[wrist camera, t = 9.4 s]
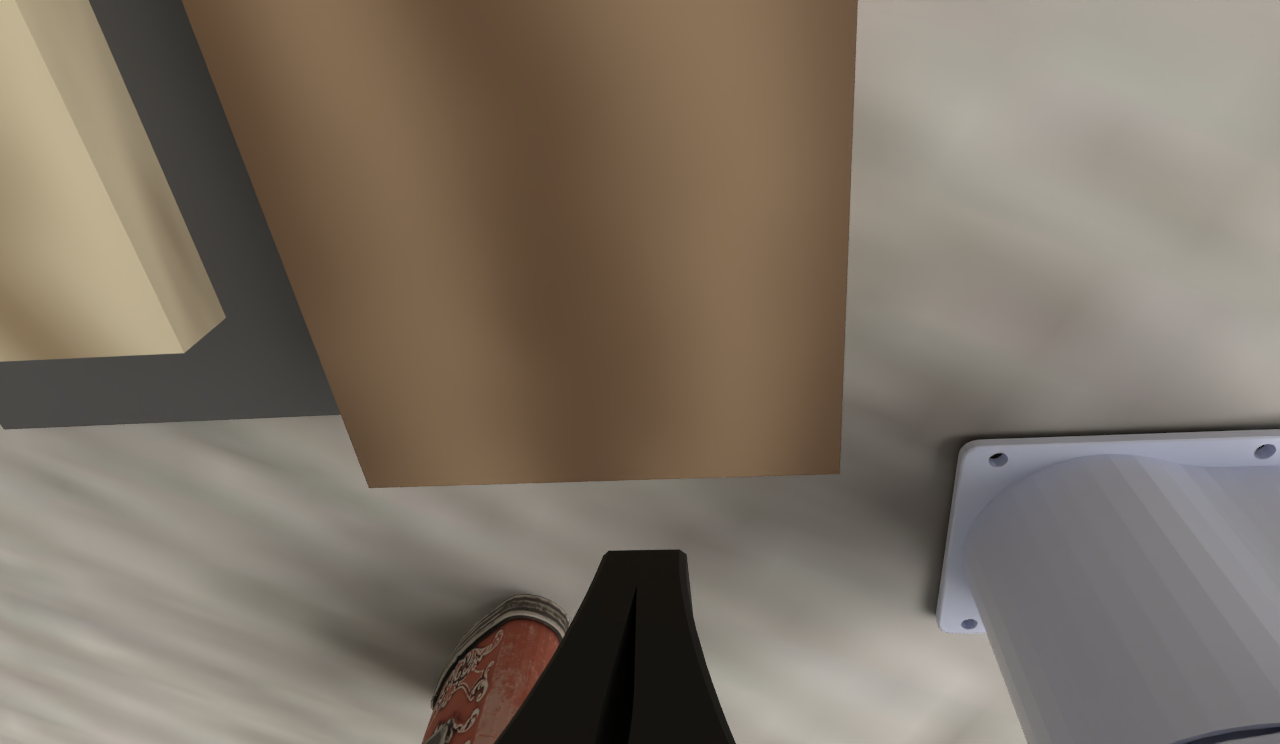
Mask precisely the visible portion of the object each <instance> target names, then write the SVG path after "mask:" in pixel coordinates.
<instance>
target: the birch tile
mask: <svg viewBox="0 0 1280 744" xmlns="http://www.w3.org/2000/svg"><path fill="white" fill-rule="evenodd" d="M225 318H226V316H225V314H224V311H223V309H222V307H221V305H220V302H219V300H218V298H217V295H216V293H215V291H214V288H213V286H212V284H211V281H210V279H209V277H208V275H207V272H206V270H205V268H204V265H203V263H202V261H201V258H200V256H199V254H198V251H197V249H196V247H195V245H194V242H193V240H192V238H191V235H190V233H189V231H188V228H187V226H186V224H185V221H184V219H183V217H182V215H181V212H180V210H179V208H178V205H177V203H176V201H175V198H174V196H173V194H172V191H171V189H170V187H169V185H168V182H167V180H166V178H165V175H164V173H163V171H162V168H161V166H160V164H159V162H158V159H157V157H156V155H155V152H154V150H153V148H152V145H151V143H150V141H149V138H148V136H147V134H146V132H145V129H144V127H143V125H142V122H141V120H140V118H139V115H138V113H137V111H136V108H135V106H134V104H133V102H132V99H131V97H130V95H129V92H128V90H127V88H126V85H125V83H124V81H123V78H122V76H121V74H120V72H119V69H118V67H117V65H116V62H115V60H114V58H113V55H112V53H111V51H110V48H109V46H108V44H107V42H106V39H105V37H104V35H103V32H102V30H101V28H100V25H99V23H98V21H97V19H96V16H95V14H94V12H93V9H92V7H91V5H90V2H89V0H0V362H3V361H25V360H47V359H68V358H90V357H112V356H133V355H155V354H176V353H185V352H186V351H187V350H188V349H190V348H191V347H192V346H193V345H194V344H196V343H197V342H198V341H199V340H200V339H202V338H203V337H204V336H205V335H206V334H207V333H209V332H210V331H211V330H212V329H213V328H215V327H216V326H217V325H218V324H219V323H220V322H222V321H223V320H224V319H225Z"/></svg>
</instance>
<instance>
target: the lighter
mask: <svg viewBox="0 0 1280 744" xmlns="http://www.w3.org/2000/svg"><path fill="white" fill-rule="evenodd" d="M568 627H569V620H568V617H567V614H566V613H565V612H564V611H563V610H562V609H561V607H559V606H558V605H556V604H555V603H553V602H552V601H550V600H547V599H545V598H542V597H539V596H534V595H527V594H526V595H516V596H513V597H511V598H509V599H507V600H506V601H504V602H503V603H502V604H500V605H499V606H497V607H496V608H495V609H493V610H492V611H491V612H489V613H488V614H487V615H485V616H484V617H483V618H482V619H481V620H480V621H479V622H478V623H477V624H476V625H475V626H474V627H473V628H472V629H471V630H470V631H469V632H468V633H467V634H466V635H465V636H464V637H463V638H462V639H461V640H460V642H459V643H458V645H457V646H456V648H455V649H454V651H453V652H452V654H451V655H450V657H449V658H448V660H447V662H446V664H445V666H444V669H443V671H442V674H441V676H440V678H439V681H438V683H437V686H436V689H435V692H434V695H433V697H432V700H431V708H432V710H433V713H432V715H431V718H430V721H429V724H428V727H427V730H426V733H425V736H424V738H423V741H422V744H494V742H495V741H496V740H497V738H498V737H499V736H500V734H501V733H502V732H503V730H504V729H505V728H506V726H507V725H508V723H509V722H510V721H511V719H512V718H513V716H514V715H515V713H516V712H517V711H518V709H519V708H520V706H521V705H522V703H523V702H524V700H525V699H526V697H527V696H528V694H529V693H530V691H531V689H532V688H533V686H534V685H535V683H536V682H537V680H538V678H539V677H540V675H541V674H542V672H543V671H544V669H545V667H546V666H547V664H548V663H549V661H550V659H551V658H552V656H553V654H554V653H555V651H556V649H557V647H558V646H559V644H560V642H561V640H562V639H563V637H564V635H565V633H566V631H567V630H568Z"/></svg>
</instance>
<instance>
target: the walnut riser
mask: <svg viewBox="0 0 1280 744" xmlns="http://www.w3.org/2000/svg"><path fill="white" fill-rule="evenodd" d="M182 3H183V5H184V8H185V10H186V13H187V16H188V18H189V21H190V23H191V26H192V29H193V31H194V34H195V36H196V39H197V42H198V44H199V47H200V49H201V52H202V55H203V57H204V60H205V62H206V65H207V68H208V70H209V73H210V75H211V78H212V81H213V83H214V86H215V88H216V91H217V94H218V96H219V99H220V101H221V104H222V107H223V109H224V112H225V114H226V117H227V120H228V122H229V125H230V127H231V130H232V133H233V135H234V138H235V140H236V143H237V146H238V148H239V151H240V153H241V156H242V159H243V161H244V164H245V166H246V169H247V172H248V174H249V177H250V179H251V182H252V185H253V187H254V190H255V192H256V195H257V198H258V200H259V203H260V206H261V208H262V211H263V213H264V216H265V219H266V221H267V224H268V226H269V229H270V232H271V234H272V237H273V239H274V242H275V245H276V247H277V250H278V252H279V255H280V258H281V260H282V263H283V265H284V268H285V271H286V273H287V276H288V278H289V281H290V284H291V286H292V289H293V291H294V294H295V297H296V299H297V302H298V304H299V307H300V310H301V312H302V315H303V317H304V320H305V323H306V325H307V328H308V330H309V333H310V336H311V338H312V341H313V343H314V346H315V349H316V351H317V354H318V356H319V359H320V362H321V364H322V367H323V369H324V372H325V375H326V377H327V380H328V382H329V385H330V388H331V390H332V393H333V395H334V398H335V401H336V403H337V406H338V408H339V411H340V414H341V416H342V419H343V421H344V424H345V427H346V429H347V432H348V434H349V437H350V440H351V442H352V445H353V447H354V450H355V453H356V455H357V458H358V460H359V463H360V466H361V468H362V471H363V473H364V476H365V479H366V481H367V484H368V486H369V488H385V487H418V486H452V485H485V484H518V483H551V482H584V481H618V480H651V479H684V478H717V477H751V476H784V475H817V474H840V451H841V425H842V399H843V372H844V346H845V320H846V294H847V268H848V241H849V215H850V189H851V163H852V136H853V110H854V84H855V58H856V32H857V5H858V0H182Z"/></svg>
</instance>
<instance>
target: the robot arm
mask: <svg viewBox="0 0 1280 744" xmlns="http://www.w3.org/2000/svg"><path fill="white" fill-rule="evenodd" d="M1262 445H1265V446H1264V447H1262V448H1261V449H1259V450H1256V449H1257V448H1259V447H1260V446H1262ZM997 453H1002V455H1001V456H1000V457H998V458H995V459H990V457H991V456H992V455H994V454H997ZM966 619H968V620H966ZM936 620H937V624H938V627H939V628H940V629H941V630H942V631H944V632H947V633H987V636H988V639H989V641H990V644H991V647H992V649H993V652H994V655H995V657H996V660H997V663H998V665H999V668H1000V671H1001V673H1002V676H1003V679H1004V681H1005V684H1006V687H1007V689H1008V692H1009V695H1010V697H1011V700H1012V703H1013V705H1014V708H1015V711H1016V713H1017V716H1018V719H1019V721H1020V724H1021V727H1022V729H1023V732H1024V735H1025V738H1026V740H1027V743H1028V744H1280V429H1268V430H1240V431H1211V432H1182V433H1154V434H1125V435H1097V436H1068V437H1039V438H1011V439H982V440H974V441H970V442H968V443H966V444H965V445H964V446H963V447H962V448H961V449H960V452H959V455H958V462H957V469H956V476H955V483H954V490H953V497H952V504H951V511H950V519H949V526H948V533H947V540H946V547H945V554H944V561H943V568H942V575H941V582H940V589H939V596H938V604H937V611H936ZM494 744H736V743H735V741H734V738H733V736H732V733H731V731H730V728H729V726H728V724H727V721H726V718H725V716H724V713H723V711H722V708H721V705H720V703H719V700H718V697H717V694H716V691H715V689H714V686H713V683H712V680H711V677H710V674H709V671H708V668H707V665H706V662H705V658H704V655H703V651H702V648H701V644H700V641H699V638H698V634H697V631H696V626H695V622H694V618H693V611H692V601H691V592H690V582H689V573H688V563H687V555H686V554H685V553H684V552H682V551H681V550H627V551H608V552H607V553H606V554H605V555H604V556H603V558H602V560H601V563H600V565H599V567H598V570H597V572H596V574H595V576H594V579H593V581H592V583H591V585H590V587H589V589H588V591H587V594H586V596H585V598H584V600H583V602H582V603H581V605H580V607H579V609H578V611H577V613H576V615H575V617H574V619H573V621H572V622H571V624H570V626H569V628H568V630H567V631H566V633H565V635H564V637H563V639H562V640H561V642H560V644H559V646H558V647H557V649H556V651H555V653H554V654H553V656H552V658H551V659H550V661H549V663H548V664H547V666H546V667H545V669H544V671H543V672H542V674H541V675H540V677H539V678H538V680H537V682H536V683H535V685H534V686H533V688H532V689H531V691H530V693H529V694H528V696H527V697H526V699H525V700H524V702H523V703H522V705H521V706H520V708H519V709H518V711H517V712H516V713H515V715H514V716H513V718H512V719H511V721H510V722H509V723H508V725H507V726H506V728H505V729H504V730H503V732H502V733H501V734H500V736H499V737H498V738H497V740H496V741H495V742H494Z"/></svg>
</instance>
